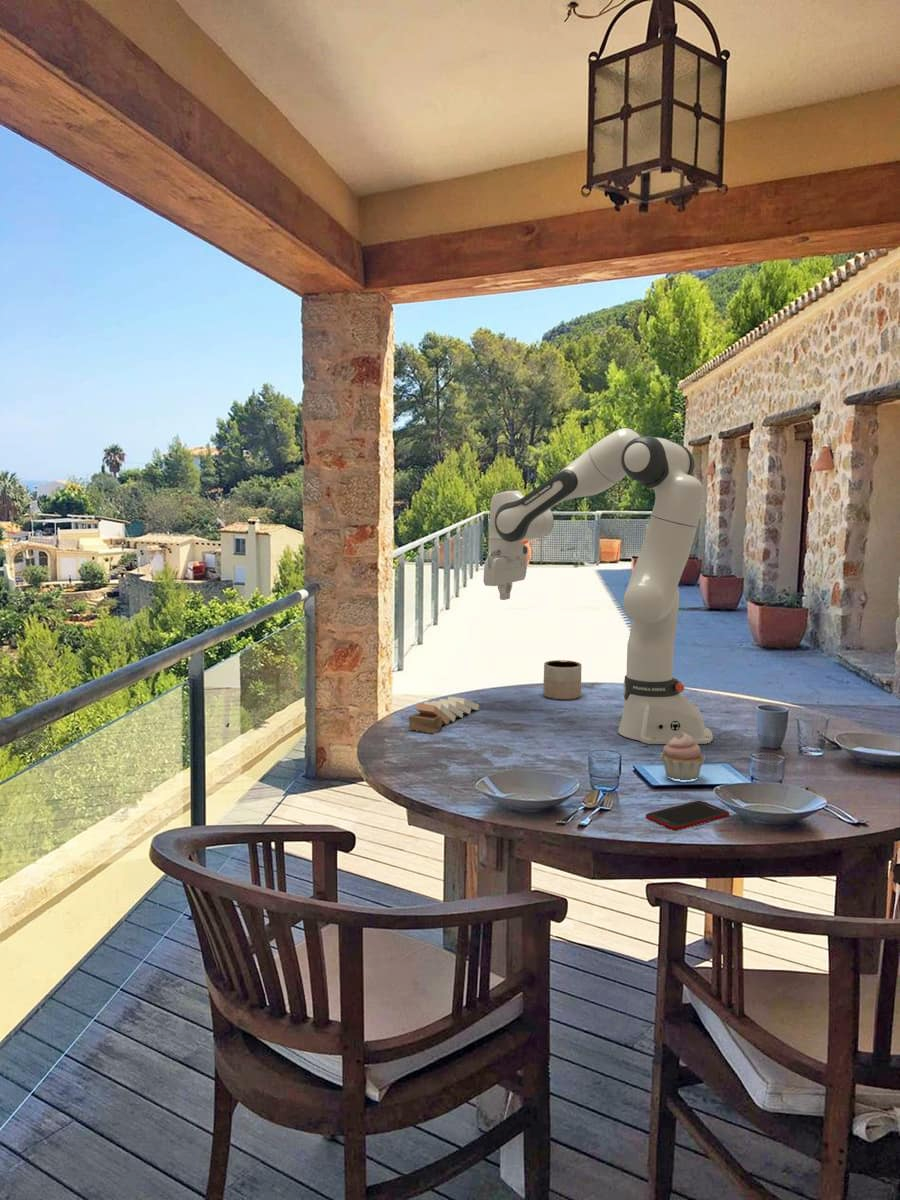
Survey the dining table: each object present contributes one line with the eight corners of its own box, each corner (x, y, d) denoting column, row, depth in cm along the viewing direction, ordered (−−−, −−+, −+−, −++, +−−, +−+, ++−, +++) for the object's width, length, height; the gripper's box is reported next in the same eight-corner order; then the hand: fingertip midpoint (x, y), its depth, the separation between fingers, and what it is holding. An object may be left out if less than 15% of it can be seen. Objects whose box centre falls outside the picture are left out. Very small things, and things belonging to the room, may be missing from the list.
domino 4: (454, 706, 241) (439, 698, 234) (471, 708, 239) (456, 700, 231) (453, 712, 241) (438, 704, 233) (469, 714, 238) (455, 706, 231)
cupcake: (654, 770, 192) (656, 725, 191) (698, 771, 192) (700, 726, 191) (663, 785, 183) (665, 737, 182) (709, 786, 183) (711, 738, 182)
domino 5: (462, 702, 245) (448, 696, 238) (479, 704, 243) (464, 698, 235) (461, 708, 245) (447, 702, 237) (478, 710, 242) (463, 704, 235)
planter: (583, 701, 254) (584, 667, 253) (544, 700, 254) (545, 667, 253) (578, 692, 265) (579, 660, 263) (541, 691, 265) (542, 659, 264)
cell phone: (643, 819, 166) (643, 814, 166) (699, 804, 173) (700, 799, 173) (674, 833, 159) (674, 827, 159) (731, 817, 167) (731, 812, 167)
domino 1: (432, 716, 231) (417, 703, 224) (449, 719, 229) (435, 705, 221) (430, 722, 230) (416, 709, 223) (447, 724, 228) (433, 711, 221)
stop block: (417, 726, 226) (417, 712, 226) (441, 730, 223) (441, 716, 223) (409, 730, 223) (409, 716, 222) (433, 734, 220) (433, 720, 219)
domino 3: (447, 709, 238) (432, 700, 230) (463, 712, 235) (449, 703, 228) (445, 715, 237) (430, 706, 230) (462, 718, 235) (447, 709, 227)
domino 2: (439, 713, 234) (424, 701, 226) (455, 716, 231) (441, 703, 224) (437, 719, 233) (422, 707, 226) (454, 722, 231) (439, 709, 224)
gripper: (499, 552, 236) (498, 604, 238) (530, 547, 254) (530, 596, 255) (477, 551, 239) (477, 602, 241) (510, 546, 257) (510, 594, 258)
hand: (504, 599), depth 248 cm, fingers closed
